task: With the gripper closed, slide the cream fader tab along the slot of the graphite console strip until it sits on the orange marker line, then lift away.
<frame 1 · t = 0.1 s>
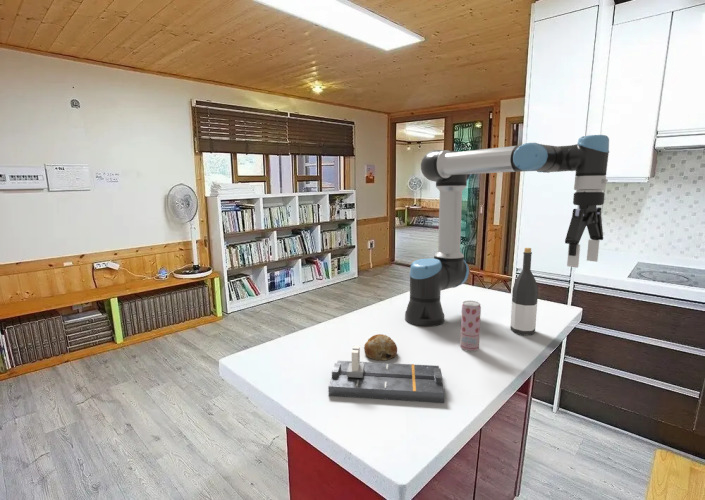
hand: (582, 263, 110), 28 cm above the kitchen island, fingers open, 13 cm apart
console: (386, 384, 97), on the kitchen island
bread roll: (379, 354, 116), on the kitchen island
wine bottle: (522, 331, 133), on the kitchen island
beverage can: (469, 348, 119), on the kitchen island
fader: (355, 360, 97), point 6 cm above the kitchen island, slide at -8.0 cm
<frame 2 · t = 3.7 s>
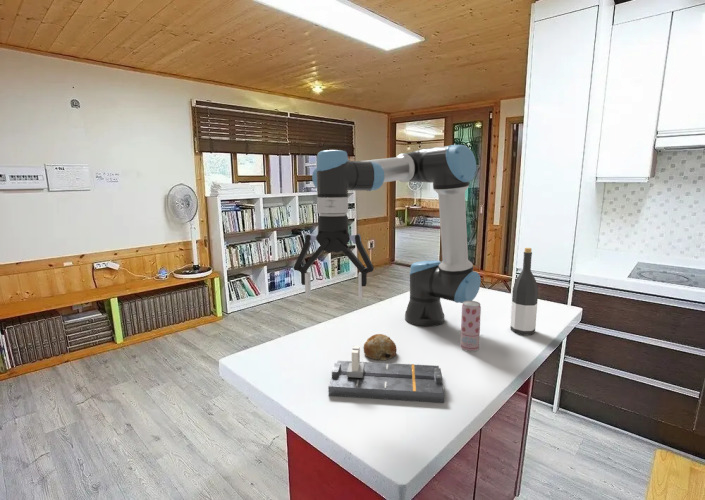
hand: (334, 297, 95), 23 cm above the kitchen island, fingers open, 13 cm apart
nothing on the kitchen island moved.
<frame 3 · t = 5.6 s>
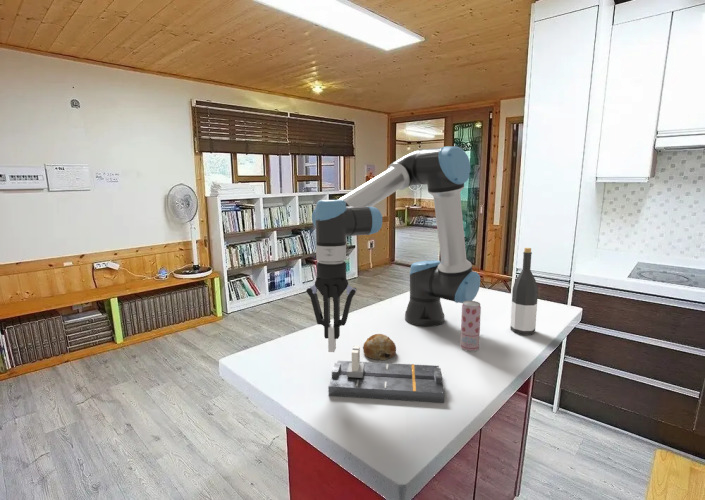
hand: (332, 349, 97), 9 cm above the kitchen island, fingers closed
nothing on the kitchen island moved.
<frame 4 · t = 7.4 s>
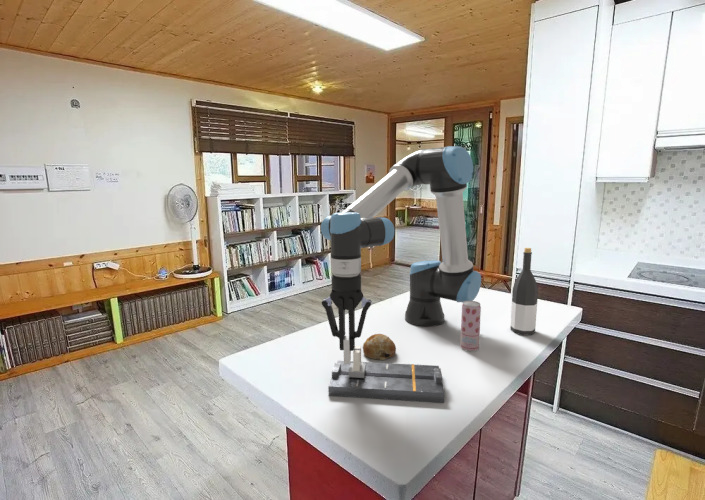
hand: (347, 361, 98), 6 cm above the kitchen island, fingers closed
fader: (357, 360, 97), point 6 cm above the kitchen island, slide at -7.6 cm, touching gripper
everything else where it was.
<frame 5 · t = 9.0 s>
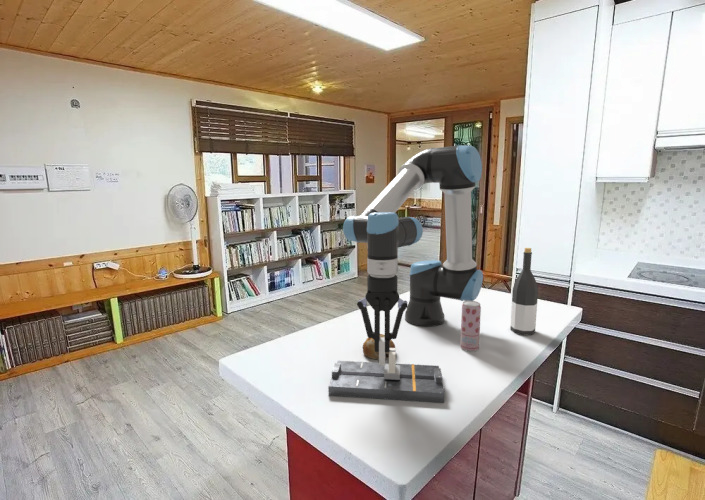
hand: (382, 363, 96), 6 cm above the kitchen island, fingers closed
fader: (392, 362, 96), point 6 cm above the kitchen island, slide at 1.5 cm, touching gripper
everything else where it was.
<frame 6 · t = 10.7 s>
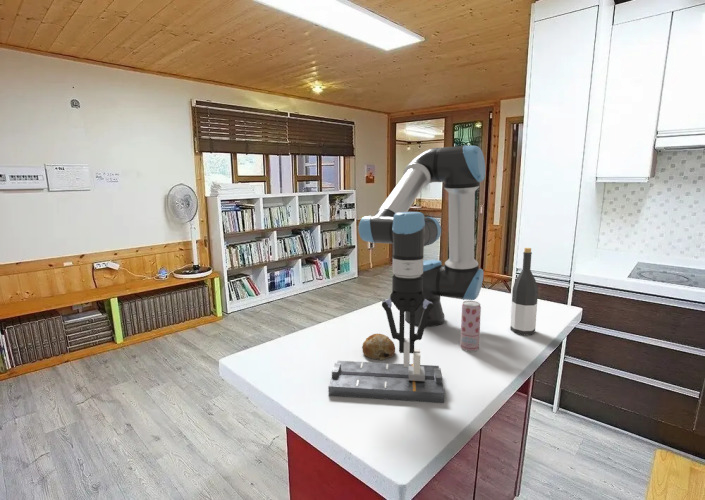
hand: (406, 364, 96), 6 cm above the kitchen island, fingers closed
fader: (416, 363, 95), point 6 cm above the kitchen island, slide at 7.7 cm, touching gripper
everything else where it was.
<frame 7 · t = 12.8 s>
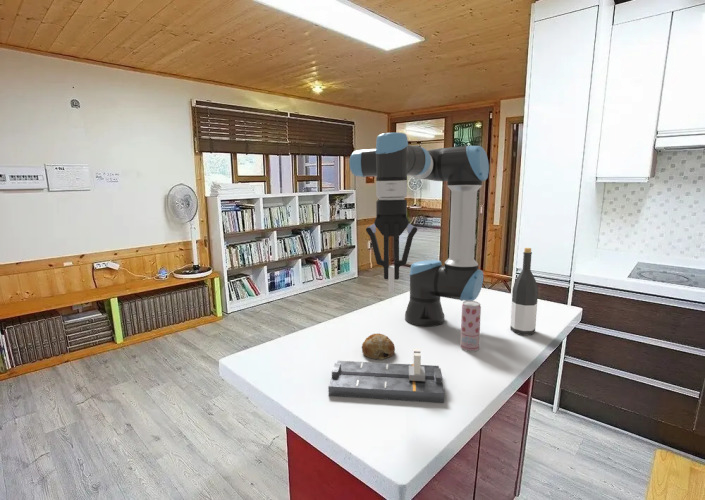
hand: (391, 291, 95), 25 cm above the kitchen island, fingers closed
fader: (416, 363, 95), point 6 cm above the kitchen island, slide at 7.8 cm
everything else where it was.
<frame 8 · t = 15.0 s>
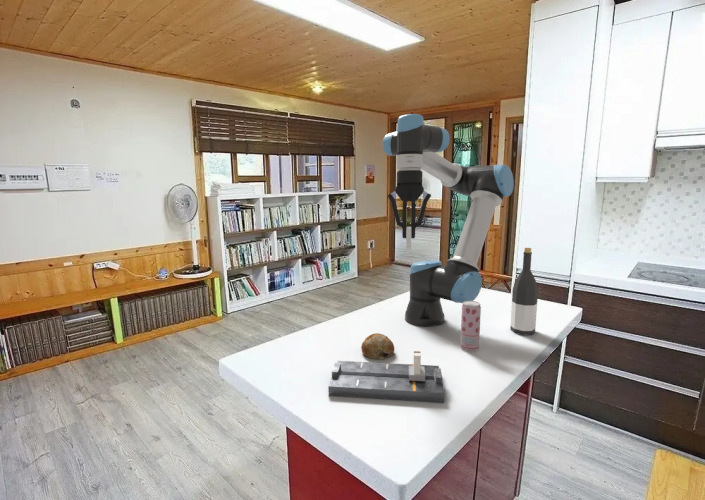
hand: (408, 248, 113), 32 cm above the kitchen island, fingers closed
at the end: fader slide at 7.8 cm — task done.
